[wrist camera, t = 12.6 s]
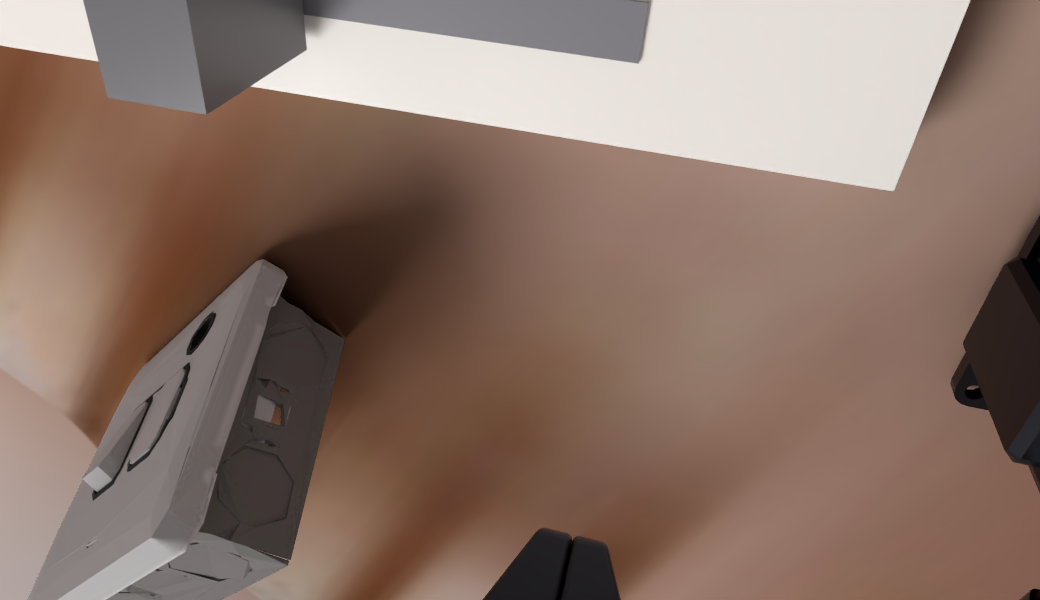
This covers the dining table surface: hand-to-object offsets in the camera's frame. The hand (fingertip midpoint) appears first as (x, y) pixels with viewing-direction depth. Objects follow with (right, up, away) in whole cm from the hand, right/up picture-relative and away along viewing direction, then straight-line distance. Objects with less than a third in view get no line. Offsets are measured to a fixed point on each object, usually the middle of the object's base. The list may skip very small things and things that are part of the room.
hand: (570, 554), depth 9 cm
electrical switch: (-10, +1, +17) cm, 20 cm away
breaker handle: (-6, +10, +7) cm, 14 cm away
